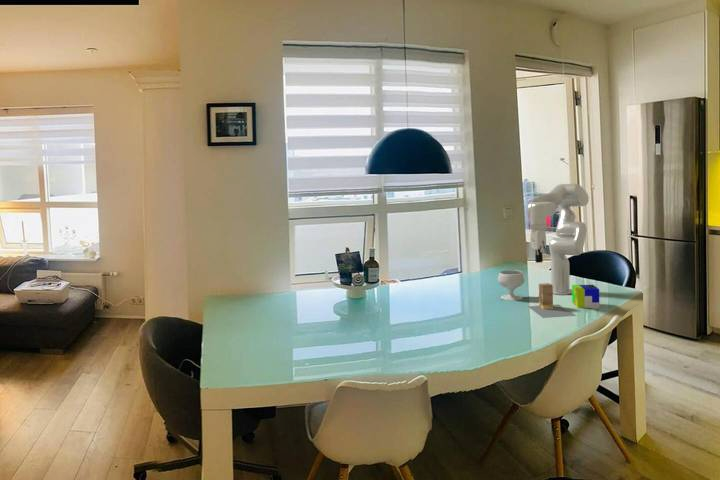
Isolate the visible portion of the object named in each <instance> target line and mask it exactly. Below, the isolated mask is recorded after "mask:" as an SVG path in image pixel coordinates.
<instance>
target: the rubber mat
mask: <svg viewBox="0 0 720 480" xmlns="http://www.w3.org/2000/svg"><path fill="white" fill-rule="evenodd" d="M527 308H529V309H530V310H532V312H534V313H536V314H537V315H539V316H540V317H541V318H542V319H545V318H547V319H549V318H561V317H562V318H564V317H565V318H566V317H576V316H577V315H576V314H575V313H574V312H571V311H570V310H568V309H567V308H565V307H563V306H562V305H561V304H553V309H542V308H541V307H539V305H528V306H527Z"/></svg>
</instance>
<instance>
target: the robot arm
mask: <svg viewBox="0 0 720 480" xmlns="http://www.w3.org/2000/svg"><path fill="white" fill-rule="evenodd" d="M589 198H590V197H589V194H588V192H587V191H586V189H584V187H582V185H580V184H578V183H561V184H558V185H556V186H555V187H554V188H552V190H550V191H549V192H547V193H545V194H543V195H539V196H537V197H534V198H533V199H531V201H530V202H529V203H528V204H527V207H526V212H527V214H528V215H529V216H530V240H529V241H530V248H532V249H533V250H534V255H535V259H534V261H535V263H538V264H539V263H543V261H544V258H543V255H544V252H545V249H547V236H546V235H547V234H546V231H547V217H552V216H554V215H555V214H556V212H557V209H558V213H559V217H558V221H557V224H556V228H555V234H556V236H557V237H553V238H552V239H550V240H549V241H548V248H549V253H550V254H549V255H550V275H551V277H550V280H551V281H550V282H551V283H550V284H551V285H553V295H559V296H560V295H561V296H562V295H563V296H564V295H567V296H568V295H572V288H570V283H571V282H570V261H569V259H568V257H567V256H579V255H581V254H582V252H583V249H584V246H585V242H586V238H587V232H588V228H587V225H586V223H585V222H582V221H576V214H575V212H574V211H573V210H572V209H571V208H572V207H573V208H574V207H585V206H588V203H589V201H590V200H589ZM570 207H571V208H570Z"/></svg>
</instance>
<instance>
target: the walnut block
mask: <svg viewBox="0 0 720 480" xmlns="http://www.w3.org/2000/svg"><path fill="white" fill-rule="evenodd" d="M553 305H554V294H553V285H551V283H549V282H547V283H546V282H543V283H538V306H539V307H541V308H542V309H553Z"/></svg>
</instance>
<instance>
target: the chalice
mask: <svg viewBox="0 0 720 480" xmlns="http://www.w3.org/2000/svg"><path fill="white" fill-rule="evenodd" d="M497 281H498V284H499V285H500V286H501V287H503V288H506V289H507V290H508V291H509V294H505V295H501V296H500V298H499V299H501V300H506V301H519V300H523V296H521V295H517V294H514V291H515V289H517V288H519V287H521V286H522V285H524V283H525V276H524V274H523V272H522V271H520V270H515V269H512V270H511V269H509V270H508V269H507V270H502V271H500V272H499V274H498V277H497Z"/></svg>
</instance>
